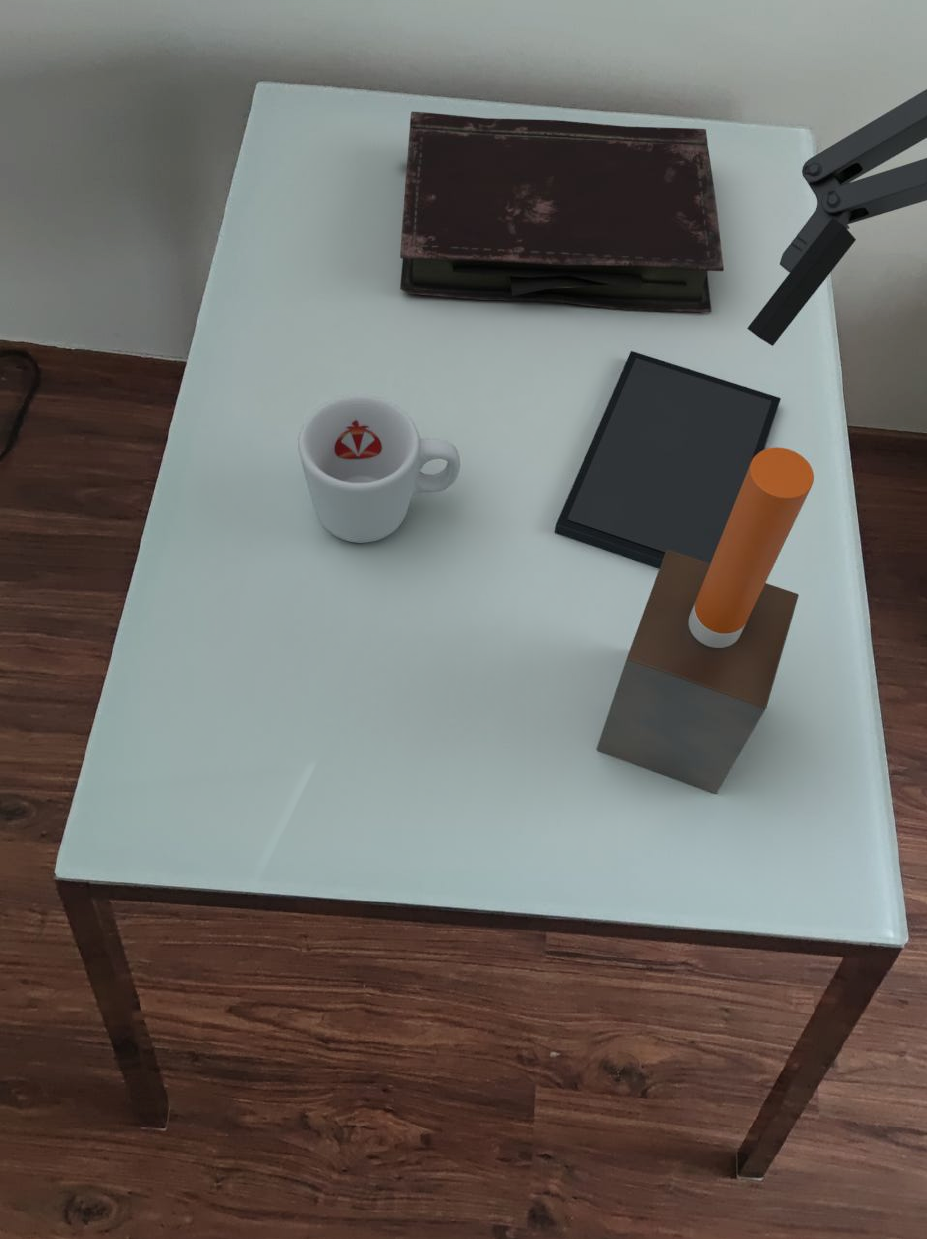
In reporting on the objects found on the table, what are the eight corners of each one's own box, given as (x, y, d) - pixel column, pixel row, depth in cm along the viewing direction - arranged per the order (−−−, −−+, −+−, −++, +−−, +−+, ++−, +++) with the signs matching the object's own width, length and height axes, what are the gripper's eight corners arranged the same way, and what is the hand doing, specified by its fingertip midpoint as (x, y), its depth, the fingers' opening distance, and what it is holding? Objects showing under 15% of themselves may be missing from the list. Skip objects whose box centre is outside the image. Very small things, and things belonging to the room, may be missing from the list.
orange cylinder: (746, 613, 69) (820, 459, 57) (733, 655, 68) (806, 506, 56) (696, 596, 70) (759, 438, 58) (682, 637, 68) (743, 485, 56)
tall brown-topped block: (747, 690, 80) (799, 593, 70) (716, 794, 76) (766, 708, 66) (632, 649, 82) (666, 548, 71) (595, 750, 78) (626, 658, 67)
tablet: (777, 406, 93) (781, 396, 92) (716, 588, 85) (720, 580, 84) (628, 359, 95) (631, 349, 94) (554, 532, 86) (555, 523, 85)
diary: (410, 152, 107) (411, 101, 102) (694, 168, 107) (706, 119, 103) (399, 305, 97) (399, 257, 93) (710, 322, 98) (725, 275, 93)
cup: (449, 460, 89) (454, 386, 82) (464, 549, 85) (470, 479, 78) (301, 471, 88) (294, 397, 81) (309, 562, 84) (302, 492, 77)
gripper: (1445, 198, 52) (1079, 579, 59) (970, -68, 61) (702, 291, 68) (1487, 143, 45) (1069, 578, 53) (948, -147, 54) (654, 259, 62)
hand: (862, 417), depth 60 cm, fingers open, 13 cm apart
